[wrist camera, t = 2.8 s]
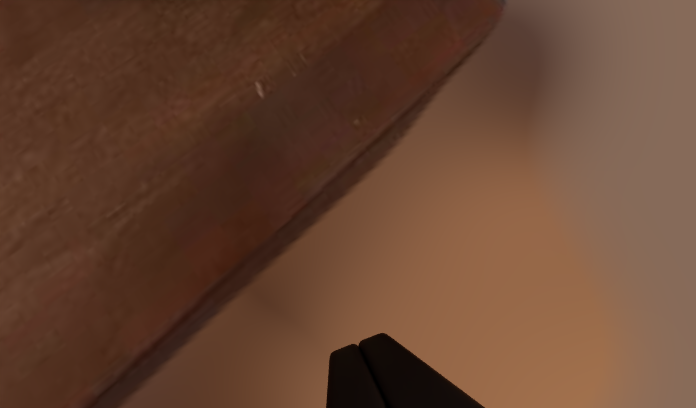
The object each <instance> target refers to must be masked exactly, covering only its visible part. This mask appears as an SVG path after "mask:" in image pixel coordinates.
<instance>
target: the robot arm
mask: <svg viewBox="0 0 696 408" xmlns="http://www.w3.org/2000/svg"><path fill="white" fill-rule="evenodd" d="M326 408H485V407H483V406H482V405H481V404H479V403H478V402H477V401H475V400H474V399H473V398H471V397H470V396H469V395H467V394H466V393H465V392H463V391H462V390H461V389H459V388H458V387H457V386H455V385H454V384H452V383H451V382H450V381H448V380H447V379H446V378H444V377H443V376H442V375H441V374H439V373H438V372H437V371H435V370H434V369H433V368H431V367H430V366H429V365H427V364H426V363H425V362H423V361H422V360H420V359H419V358H418V357H417V356H415V355H414V354H413V353H411V352H410V351H409V350H407V349H406V348H405V347H403V346H402V345H401V344H399V343H398V342H397V341H395V340H394V339H392V338H391V337H390V336H388V335H387V334H385V333H380V334H377V335H374V336H372V337H370V338H367V339H364V340H362V341H361V342H360V343H359V347H358V346H357V345H356V344H351V345H348V346H346V347H343V348H341V349H338V350H336V351H334V352H332V353H331V355H330V360H329V375H328V389H327V404H326Z"/></svg>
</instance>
